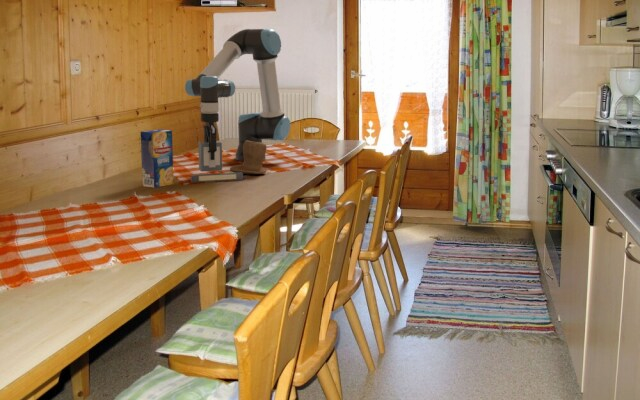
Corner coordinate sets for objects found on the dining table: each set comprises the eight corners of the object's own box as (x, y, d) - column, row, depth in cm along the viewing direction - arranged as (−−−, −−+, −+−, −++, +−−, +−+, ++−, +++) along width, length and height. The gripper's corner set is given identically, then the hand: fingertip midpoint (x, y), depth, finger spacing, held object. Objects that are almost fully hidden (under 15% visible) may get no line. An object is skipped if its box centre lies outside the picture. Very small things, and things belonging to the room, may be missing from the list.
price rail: (191, 182, 323) (190, 174, 323) (242, 179, 331) (241, 172, 331) (191, 182, 322) (191, 175, 321) (243, 179, 330) (243, 172, 329)
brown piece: (271, 173, 348) (271, 139, 345) (258, 177, 338) (258, 142, 335) (242, 170, 355) (242, 137, 352) (228, 174, 344) (228, 140, 341)
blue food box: (173, 183, 319) (172, 130, 315) (154, 187, 310) (152, 132, 306) (161, 182, 323) (159, 129, 318) (142, 185, 314) (140, 131, 309)
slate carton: (219, 168, 341) (218, 141, 338) (222, 170, 336) (221, 143, 333) (199, 169, 337) (198, 142, 335) (201, 171, 333) (201, 143, 330)
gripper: (196, 111, 339) (197, 163, 343) (205, 114, 322) (206, 169, 327) (213, 110, 341) (214, 162, 346) (223, 114, 325) (224, 168, 329)
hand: (210, 166), depth 336 cm, fingers closed on slate carton, 5 cm apart
